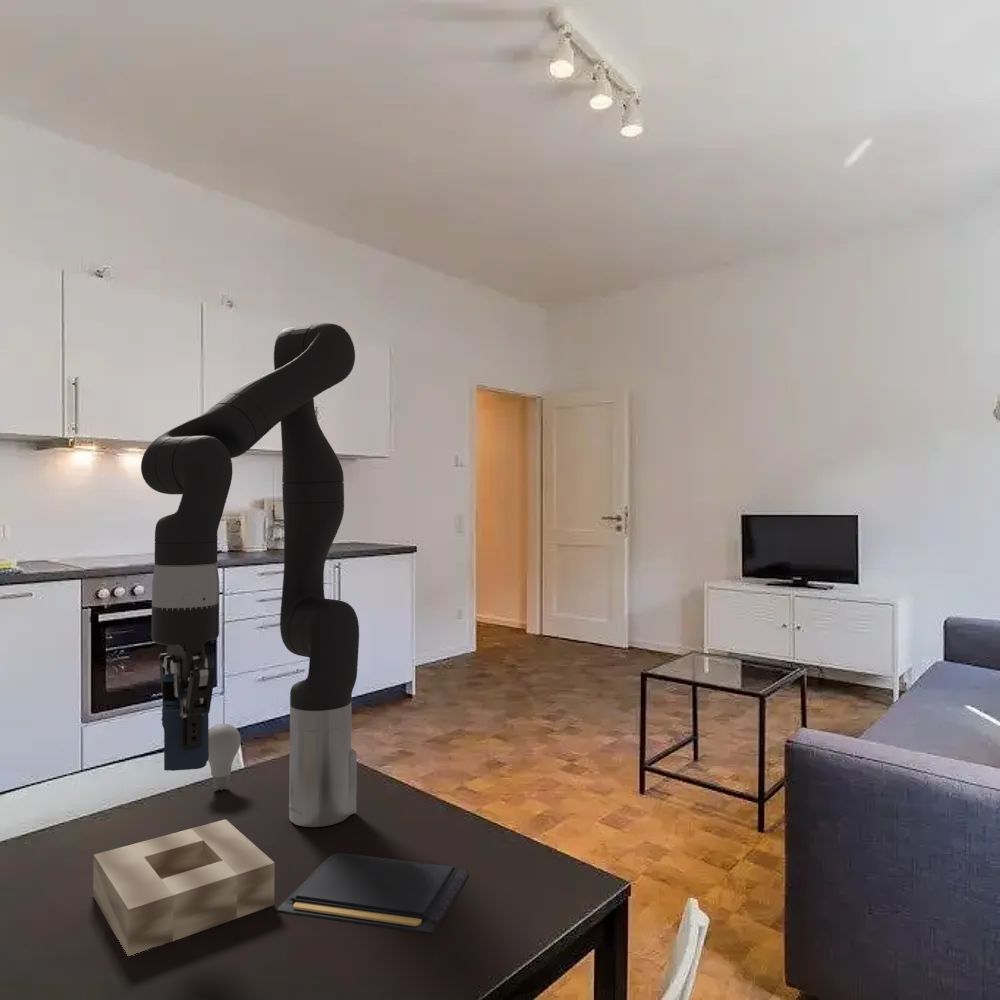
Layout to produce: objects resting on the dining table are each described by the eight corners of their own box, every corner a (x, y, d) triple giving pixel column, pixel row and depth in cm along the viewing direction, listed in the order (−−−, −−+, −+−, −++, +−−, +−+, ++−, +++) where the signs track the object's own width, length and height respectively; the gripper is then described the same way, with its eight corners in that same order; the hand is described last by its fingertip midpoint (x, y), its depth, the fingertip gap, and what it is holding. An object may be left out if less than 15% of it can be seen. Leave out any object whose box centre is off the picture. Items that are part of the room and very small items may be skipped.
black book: (472, 862, 96) (431, 926, 81) (472, 877, 96) (431, 944, 81) (333, 843, 101) (271, 900, 86) (333, 857, 101) (271, 916, 86)
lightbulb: (227, 798, 120) (227, 730, 120) (193, 795, 121) (194, 728, 121) (247, 784, 126) (248, 720, 126) (215, 782, 127) (215, 717, 127)
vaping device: (165, 765, 90) (165, 665, 90) (210, 762, 90) (210, 663, 91) (159, 772, 87) (158, 670, 87) (206, 769, 88) (205, 667, 88)
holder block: (225, 856, 100) (225, 819, 100) (274, 904, 88) (274, 862, 88) (93, 896, 90) (93, 854, 90) (127, 957, 77) (128, 909, 77)
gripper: (239, 604, 86) (237, 752, 86) (198, 593, 97) (197, 724, 97) (171, 610, 81) (170, 766, 81) (136, 598, 92) (135, 736, 92)
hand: (184, 743), depth 89 cm, fingers closed on vaping device, 3 cm apart
